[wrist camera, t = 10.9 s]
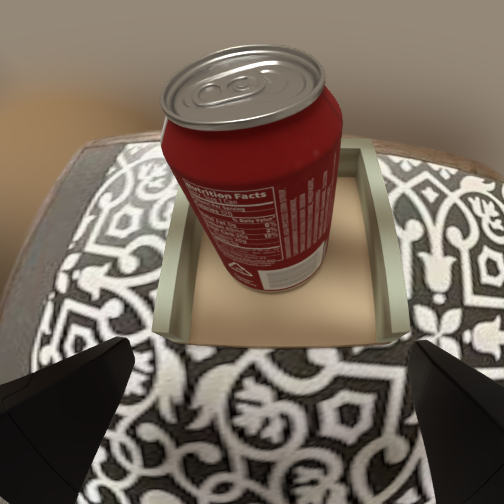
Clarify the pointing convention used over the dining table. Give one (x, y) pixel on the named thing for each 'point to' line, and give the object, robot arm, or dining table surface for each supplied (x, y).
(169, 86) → the soda can
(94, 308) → the dining table surface
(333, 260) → the dock
